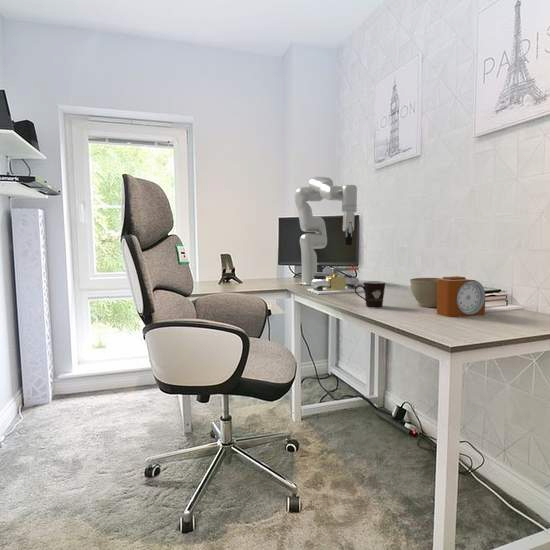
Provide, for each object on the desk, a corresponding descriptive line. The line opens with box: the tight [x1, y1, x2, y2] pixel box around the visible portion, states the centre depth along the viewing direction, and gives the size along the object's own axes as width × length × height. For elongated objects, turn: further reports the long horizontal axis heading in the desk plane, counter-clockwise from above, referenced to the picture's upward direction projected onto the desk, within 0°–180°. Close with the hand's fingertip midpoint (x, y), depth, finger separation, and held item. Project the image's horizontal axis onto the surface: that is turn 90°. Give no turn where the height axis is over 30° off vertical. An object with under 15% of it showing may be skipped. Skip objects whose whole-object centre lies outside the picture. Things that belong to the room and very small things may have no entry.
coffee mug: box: [354, 280, 386, 308], centre depth 156 cm, size 12×9×10 cm
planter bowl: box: [409, 277, 441, 308], centre depth 154 cm, size 16×16×11 cm
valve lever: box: [331, 266, 359, 272], centre depth 205 cm, size 15×4×2 cm, turn 108°
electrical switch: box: [314, 271, 331, 280], centre depth 216 cm, size 9×5×9 cm, turn 57°
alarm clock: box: [436, 275, 486, 318], centre depth 137 cm, size 15×8×14 cm, turn 105°
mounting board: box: [306, 286, 365, 295], centre depth 203 cm, size 16×27×1 cm, turn 107°
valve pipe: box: [310, 271, 360, 291], centre depth 203 cm, size 7×26×10 cm, turn 107°
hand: (348, 244), depth 199 cm, fingers closed
